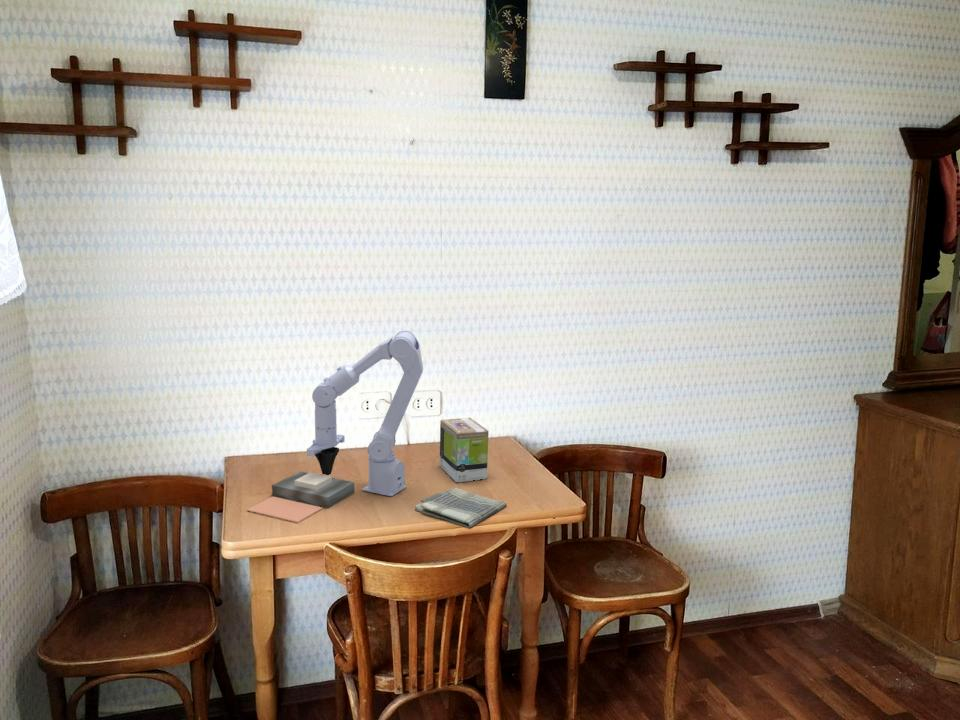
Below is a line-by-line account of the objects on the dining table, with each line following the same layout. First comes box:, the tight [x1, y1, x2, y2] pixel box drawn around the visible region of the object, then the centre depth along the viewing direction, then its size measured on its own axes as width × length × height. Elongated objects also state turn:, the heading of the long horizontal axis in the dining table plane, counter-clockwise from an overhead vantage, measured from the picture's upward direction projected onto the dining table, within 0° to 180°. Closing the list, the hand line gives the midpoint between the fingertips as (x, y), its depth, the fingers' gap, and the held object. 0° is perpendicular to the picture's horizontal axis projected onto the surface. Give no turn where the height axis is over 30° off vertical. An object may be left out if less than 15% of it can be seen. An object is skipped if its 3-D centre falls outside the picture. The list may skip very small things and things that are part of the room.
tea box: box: [439, 417, 490, 483], centre depth 224 cm, size 15×10×15 cm, turn 22°
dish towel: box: [414, 487, 507, 529], centre depth 200 cm, size 19×18×3 cm
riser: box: [271, 471, 356, 509], centre depth 206 cm, size 18×12×3 cm, turn 65°
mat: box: [246, 496, 324, 524], centre depth 196 cm, size 16×10×1 cm, turn 65°
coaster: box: [294, 471, 333, 490], centre depth 206 cm, size 7×7×2 cm
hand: (326, 473), depth 211 cm, fingers closed
